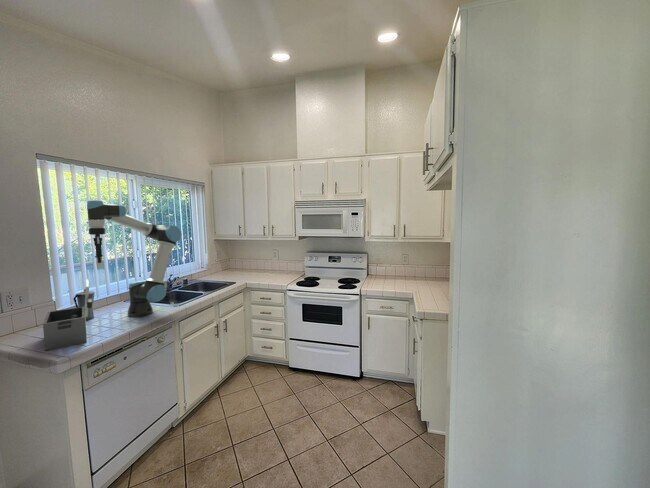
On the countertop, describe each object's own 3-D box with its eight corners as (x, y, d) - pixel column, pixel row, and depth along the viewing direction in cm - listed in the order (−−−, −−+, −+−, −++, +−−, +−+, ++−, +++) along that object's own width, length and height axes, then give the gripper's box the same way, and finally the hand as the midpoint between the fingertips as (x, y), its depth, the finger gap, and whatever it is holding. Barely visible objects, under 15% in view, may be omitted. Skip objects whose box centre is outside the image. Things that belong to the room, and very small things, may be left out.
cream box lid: (84, 306, 179) (90, 305, 180) (84, 321, 153) (91, 320, 154) (85, 279, 178) (91, 278, 180) (86, 289, 152) (92, 289, 154)
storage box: (86, 328, 180) (84, 306, 179) (86, 345, 156) (84, 319, 155) (49, 335, 170) (47, 311, 168) (44, 354, 146) (41, 327, 145)
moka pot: (101, 315, 206) (99, 286, 204) (84, 322, 190) (82, 292, 188) (87, 315, 205) (85, 286, 204) (68, 323, 190) (66, 292, 188)
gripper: (88, 227, 172) (91, 267, 174) (88, 227, 162) (91, 270, 164) (104, 227, 177) (107, 266, 179) (105, 227, 167) (108, 268, 169)
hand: (99, 268), depth 172 cm, fingers closed
